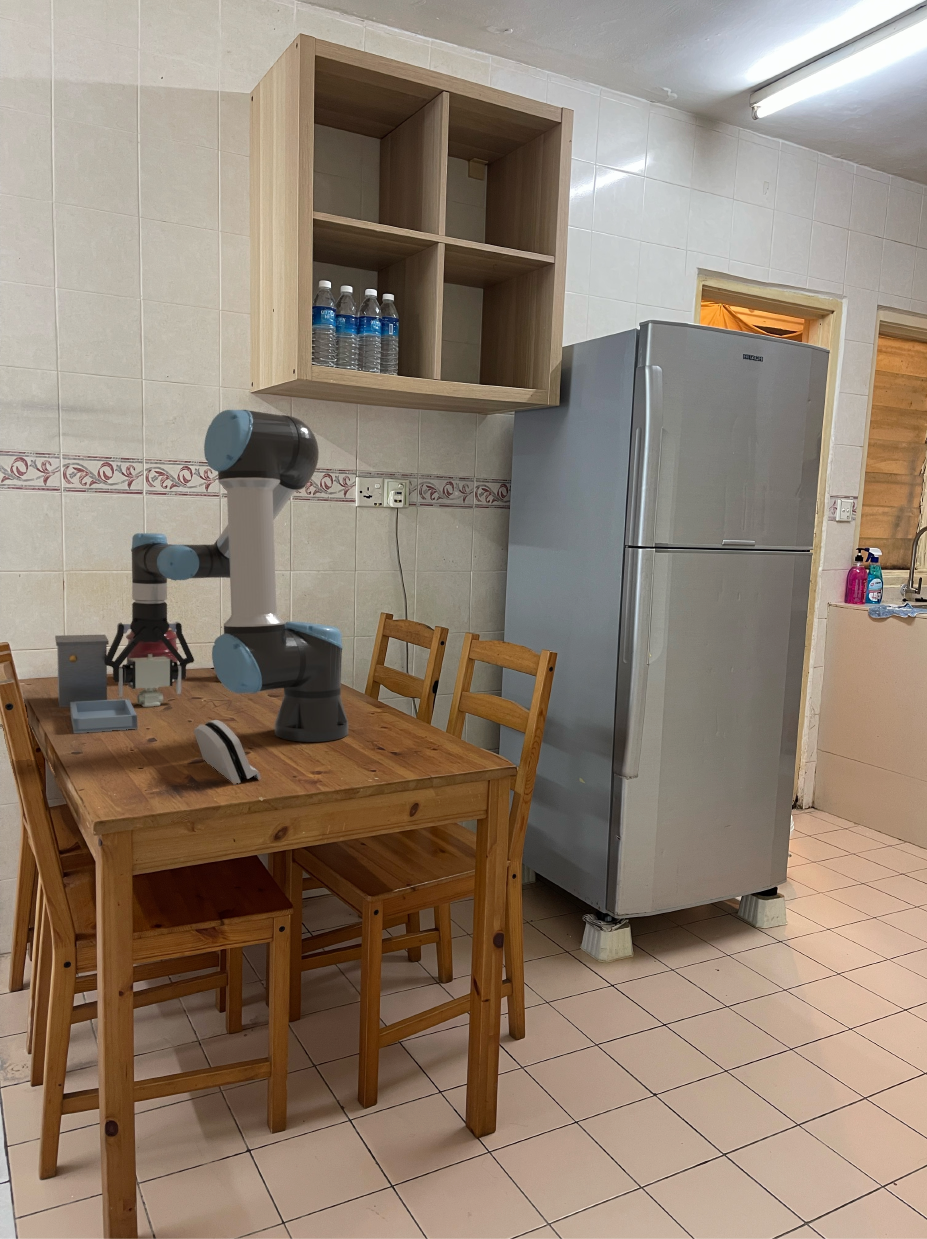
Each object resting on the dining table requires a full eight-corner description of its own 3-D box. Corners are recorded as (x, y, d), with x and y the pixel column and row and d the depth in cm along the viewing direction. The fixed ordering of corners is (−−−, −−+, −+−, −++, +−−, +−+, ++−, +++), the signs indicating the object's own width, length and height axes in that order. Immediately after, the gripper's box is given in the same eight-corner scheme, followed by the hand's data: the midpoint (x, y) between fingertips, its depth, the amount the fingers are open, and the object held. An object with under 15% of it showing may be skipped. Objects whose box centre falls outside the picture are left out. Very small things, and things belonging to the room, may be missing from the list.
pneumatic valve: (178, 705, 209) (178, 654, 207) (126, 710, 202) (125, 657, 201) (172, 700, 213) (172, 650, 212) (120, 705, 207) (120, 653, 205)
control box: (109, 705, 206) (108, 641, 204) (57, 707, 202) (56, 642, 200) (105, 695, 216) (105, 634, 214) (56, 698, 211) (55, 635, 210)
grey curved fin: (262, 780, 154) (244, 729, 151) (237, 793, 152) (217, 741, 149) (230, 756, 168) (212, 708, 165) (206, 768, 166) (188, 719, 163)
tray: (137, 729, 185) (137, 715, 185) (73, 733, 180) (73, 719, 180) (129, 711, 201) (129, 698, 200) (70, 715, 195) (70, 701, 195)
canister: (124, 677, 239) (123, 611, 237) (174, 675, 245) (174, 610, 243) (128, 686, 228) (127, 617, 226) (181, 684, 233) (181, 616, 231)
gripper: (201, 599, 214) (201, 688, 216) (91, 599, 203) (92, 693, 206) (207, 602, 207) (206, 694, 209) (93, 603, 196) (94, 700, 199)
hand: (150, 694), depth 208 cm, fingers closed on pneumatic valve, 12 cm apart
